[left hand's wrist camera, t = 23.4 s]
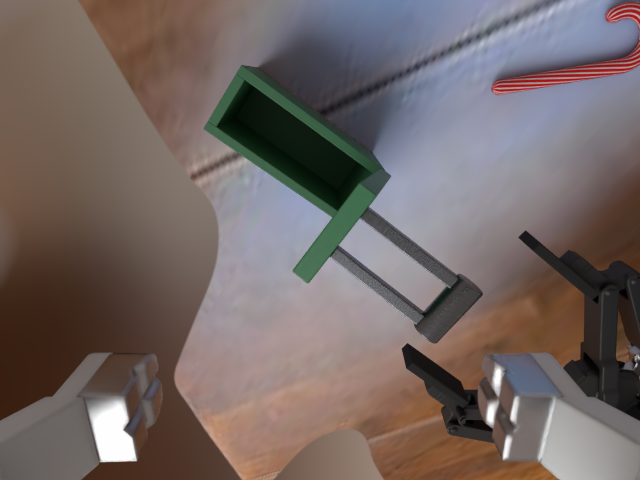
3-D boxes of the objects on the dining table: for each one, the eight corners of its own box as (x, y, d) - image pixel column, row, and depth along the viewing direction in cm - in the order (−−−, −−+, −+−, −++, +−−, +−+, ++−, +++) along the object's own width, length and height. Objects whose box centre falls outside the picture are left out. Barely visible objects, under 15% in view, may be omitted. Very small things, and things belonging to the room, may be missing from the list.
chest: (226, 118, 42) (202, 129, 34) (257, 67, 41) (241, 64, 32) (338, 197, 45) (343, 225, 37) (372, 152, 44) (385, 170, 35)
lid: (291, 271, 22) (426, 377, 22) (359, 181, 20) (507, 295, 20) (338, 223, 36) (420, 287, 36) (381, 167, 35) (467, 234, 34)
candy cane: (486, 29, 39) (492, 28, 38) (654, -3, 38) (666, -7, 37) (489, 97, 42) (495, 97, 40) (648, 67, 41) (659, 67, 39)
